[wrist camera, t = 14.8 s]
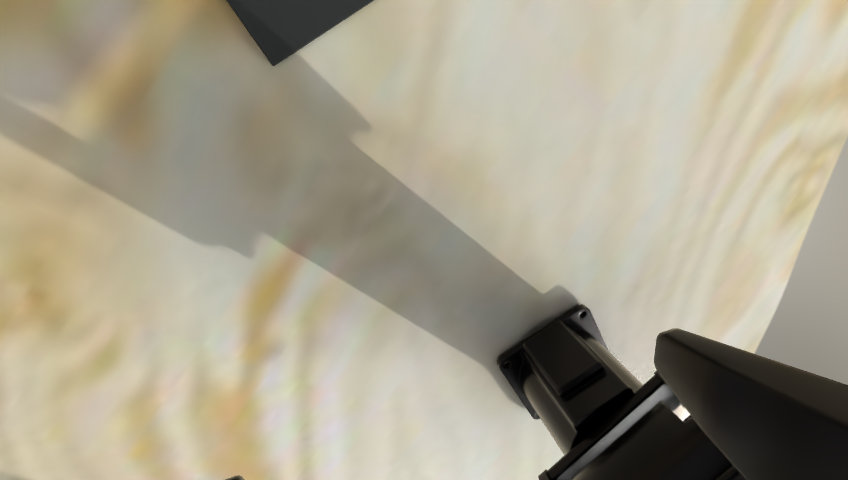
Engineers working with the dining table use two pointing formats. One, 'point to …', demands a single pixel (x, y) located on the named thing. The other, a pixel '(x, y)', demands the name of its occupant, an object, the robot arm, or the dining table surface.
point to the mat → (291, 22)
